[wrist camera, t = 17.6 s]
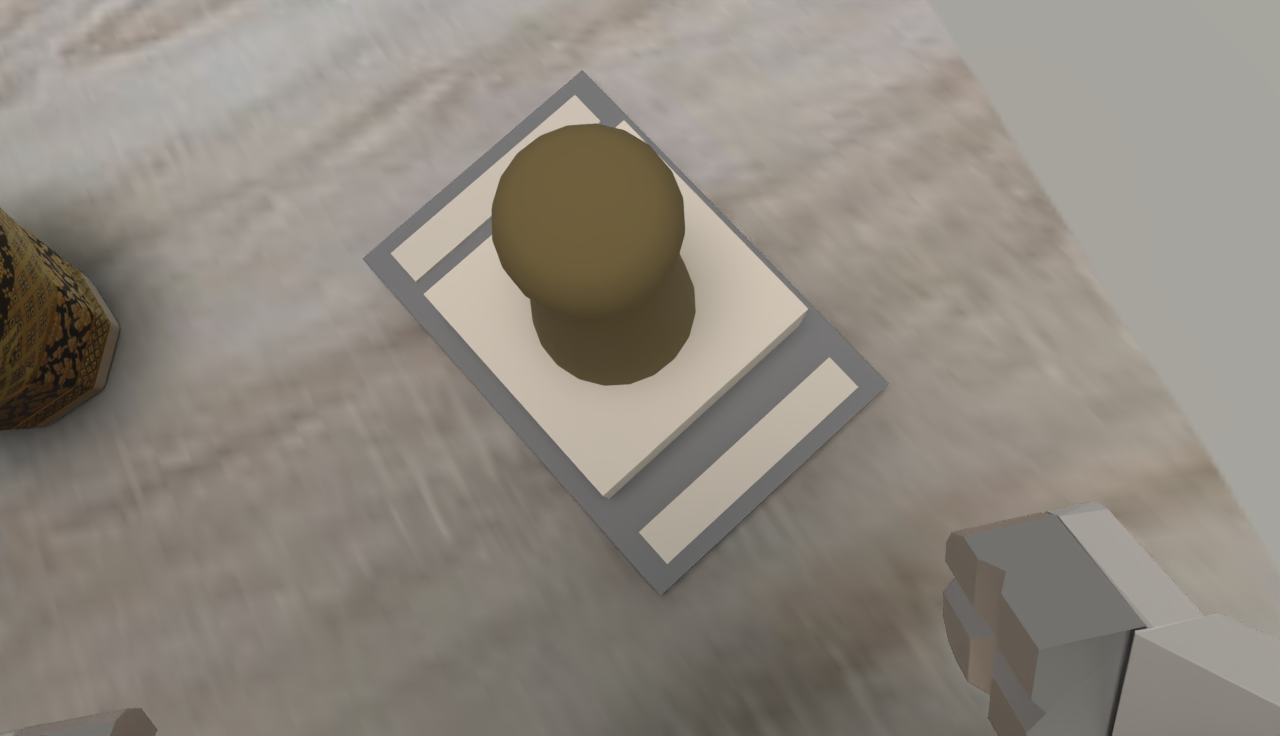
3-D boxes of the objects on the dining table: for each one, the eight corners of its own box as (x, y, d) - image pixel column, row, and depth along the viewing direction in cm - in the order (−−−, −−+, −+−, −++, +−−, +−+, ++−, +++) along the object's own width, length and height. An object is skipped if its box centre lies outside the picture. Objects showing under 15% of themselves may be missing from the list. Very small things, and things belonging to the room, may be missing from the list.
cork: (712, 366, 34) (726, 288, 23) (548, 401, 34) (485, 340, 23) (676, 209, 35) (674, 65, 24) (517, 244, 35) (443, 114, 24)
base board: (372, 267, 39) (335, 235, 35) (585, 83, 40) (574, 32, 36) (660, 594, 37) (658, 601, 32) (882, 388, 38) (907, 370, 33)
